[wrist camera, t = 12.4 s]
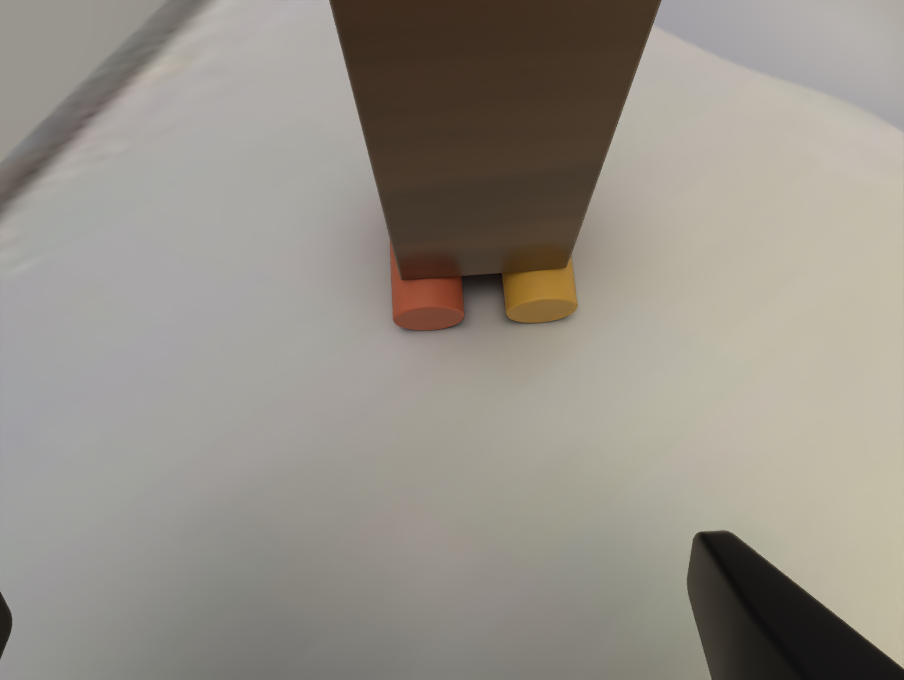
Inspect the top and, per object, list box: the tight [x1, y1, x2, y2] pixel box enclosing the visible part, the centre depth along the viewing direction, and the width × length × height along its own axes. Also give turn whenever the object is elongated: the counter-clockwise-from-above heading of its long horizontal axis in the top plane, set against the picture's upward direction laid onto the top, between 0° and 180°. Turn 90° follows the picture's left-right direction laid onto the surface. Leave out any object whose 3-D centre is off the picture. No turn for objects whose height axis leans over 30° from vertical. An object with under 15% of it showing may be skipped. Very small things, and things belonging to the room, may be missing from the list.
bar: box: [329, 0, 661, 280], centre depth 16 cm, size 4×5×12 cm
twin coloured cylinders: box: [390, 240, 578, 330], centre depth 23 cm, size 6×6×2 cm
